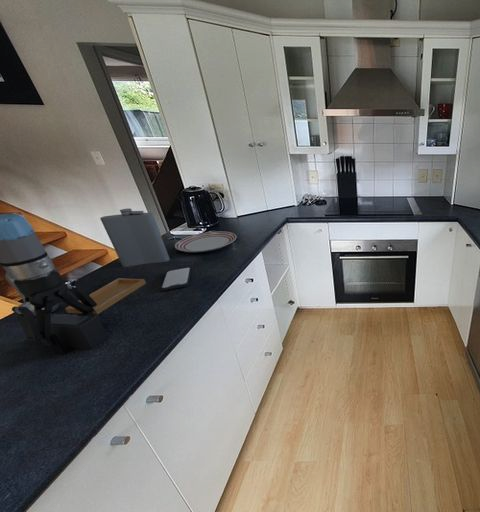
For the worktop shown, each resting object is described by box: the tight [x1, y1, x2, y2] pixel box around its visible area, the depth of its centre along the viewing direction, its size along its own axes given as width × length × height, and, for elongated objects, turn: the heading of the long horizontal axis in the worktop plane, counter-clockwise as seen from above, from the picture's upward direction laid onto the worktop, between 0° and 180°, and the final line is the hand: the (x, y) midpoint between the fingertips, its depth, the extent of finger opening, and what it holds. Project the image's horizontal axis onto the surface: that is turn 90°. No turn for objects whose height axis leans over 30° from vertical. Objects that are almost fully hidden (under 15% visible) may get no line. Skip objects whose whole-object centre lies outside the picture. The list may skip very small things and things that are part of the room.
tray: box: [64, 277, 147, 315], centre depth 100 cm, size 11×20×2 cm, turn 177°
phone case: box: [160, 267, 192, 292], centre depth 111 cm, size 9×2×16 cm
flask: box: [99, 207, 171, 268], centre depth 119 cm, size 17×5×25 cm, turn 111°
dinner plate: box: [174, 231, 238, 254], centre depth 141 cm, size 28×27×3 cm
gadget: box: [51, 313, 110, 350], centre depth 78 cm, size 14×5×8 cm, turn 87°
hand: (78, 341), depth 80 cm, fingers open, 8 cm apart
